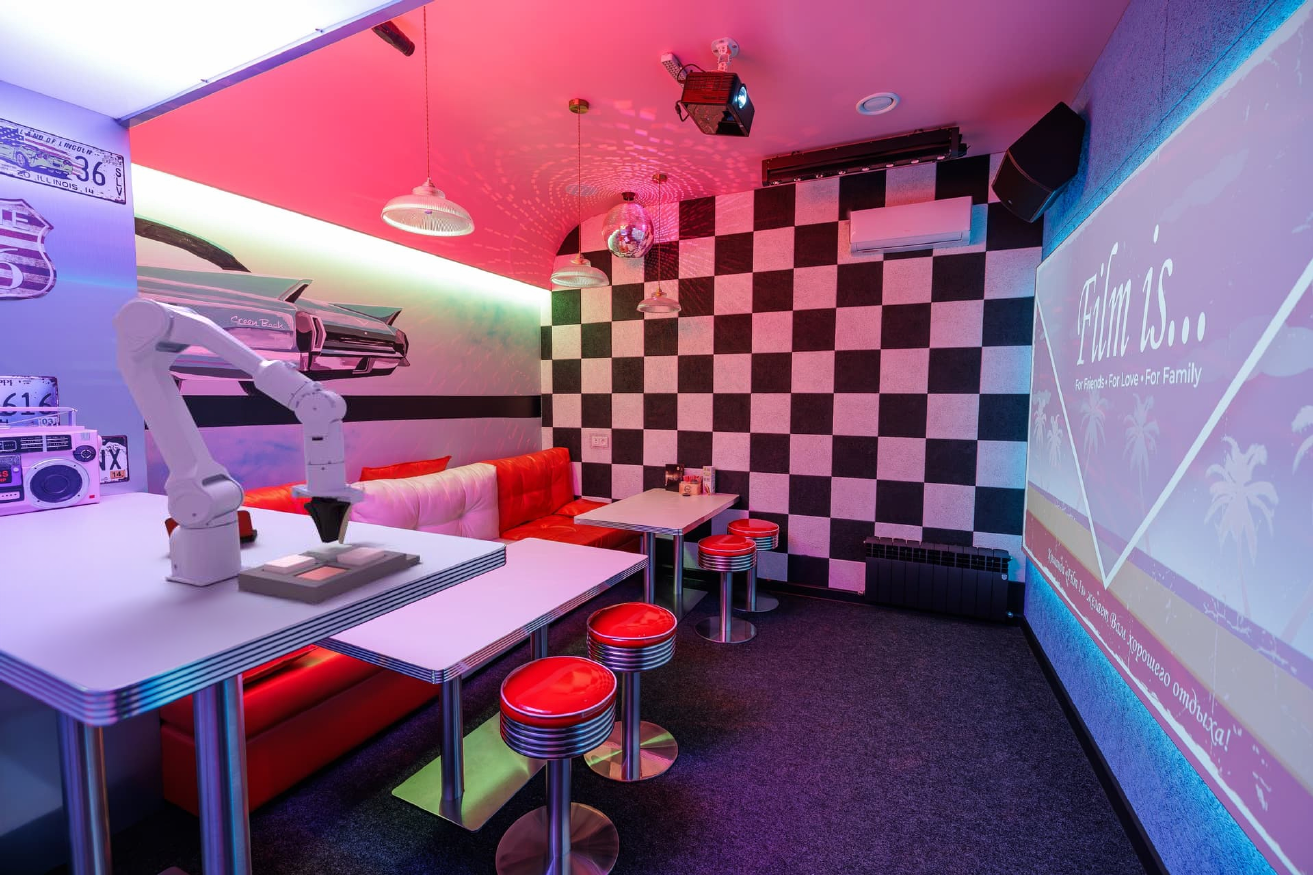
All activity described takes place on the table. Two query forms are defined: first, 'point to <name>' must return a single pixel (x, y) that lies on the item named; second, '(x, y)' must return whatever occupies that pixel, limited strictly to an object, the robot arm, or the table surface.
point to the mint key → (329, 551)
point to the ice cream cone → (344, 525)
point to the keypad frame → (328, 586)
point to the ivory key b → (360, 556)
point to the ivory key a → (289, 564)
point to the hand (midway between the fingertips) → (330, 541)
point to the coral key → (321, 573)
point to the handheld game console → (243, 522)
